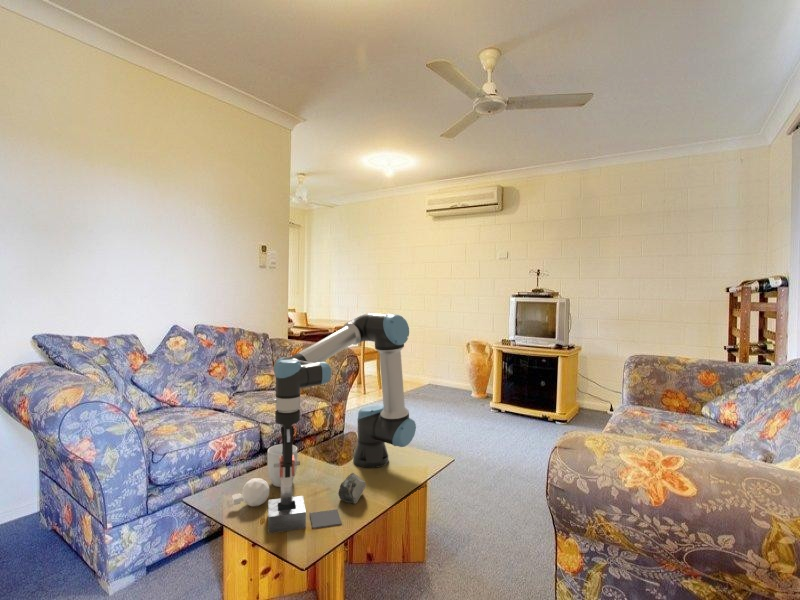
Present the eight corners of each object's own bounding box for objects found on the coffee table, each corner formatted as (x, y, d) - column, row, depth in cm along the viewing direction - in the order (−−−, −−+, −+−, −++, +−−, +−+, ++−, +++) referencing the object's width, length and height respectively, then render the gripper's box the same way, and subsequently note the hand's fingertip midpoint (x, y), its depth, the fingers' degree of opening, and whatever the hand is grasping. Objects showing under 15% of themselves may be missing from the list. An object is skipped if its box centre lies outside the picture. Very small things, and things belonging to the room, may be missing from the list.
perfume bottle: (266, 489, 154) (231, 501, 148) (265, 468, 151) (229, 480, 145) (273, 506, 147) (236, 519, 141) (272, 485, 144) (234, 498, 138)
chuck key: (298, 497, 140) (299, 454, 139) (299, 503, 135) (300, 459, 135) (273, 500, 137) (273, 456, 137) (273, 507, 133) (273, 462, 133)
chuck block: (302, 510, 143) (302, 495, 143) (305, 528, 133) (305, 512, 133) (268, 515, 140) (268, 499, 140) (268, 533, 130) (268, 517, 129)
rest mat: (337, 510, 144) (337, 509, 144) (341, 524, 135) (341, 523, 135) (309, 514, 141) (309, 512, 141) (312, 528, 133) (312, 527, 133)
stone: (347, 466, 155) (355, 476, 146) (366, 480, 158) (376, 492, 149) (330, 489, 153) (337, 501, 143) (350, 503, 156) (359, 516, 147)
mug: (305, 489, 158) (305, 454, 158) (275, 497, 152) (275, 460, 152) (291, 474, 171) (291, 441, 170) (263, 480, 165) (263, 447, 164)
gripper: (274, 403, 143) (273, 472, 143) (276, 418, 126) (275, 497, 127) (297, 401, 145) (297, 470, 146) (302, 416, 128) (301, 494, 129)
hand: (286, 482), depth 136 cm, fingers closed on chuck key, 4 cm apart
